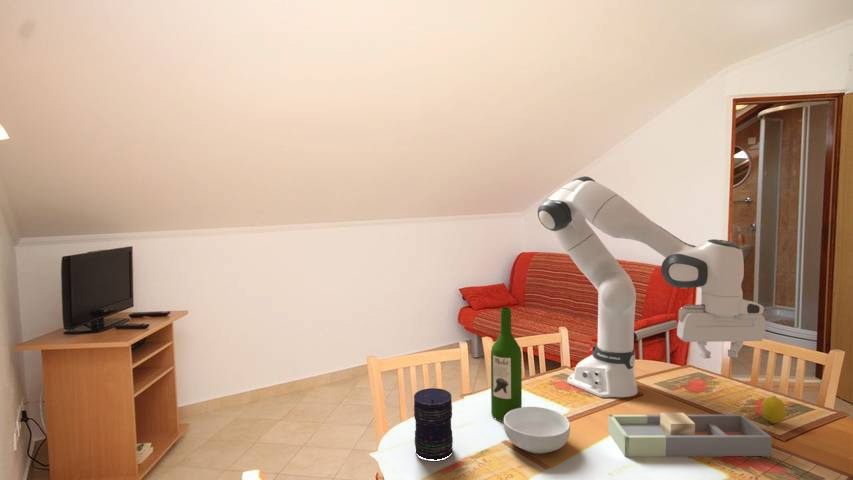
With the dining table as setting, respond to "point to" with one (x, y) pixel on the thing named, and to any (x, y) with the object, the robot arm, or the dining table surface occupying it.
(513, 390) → the wine bottle
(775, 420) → the lemon
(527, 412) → the cereal bowl
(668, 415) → the block
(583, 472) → the dining table surface
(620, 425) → the tray
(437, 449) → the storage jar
